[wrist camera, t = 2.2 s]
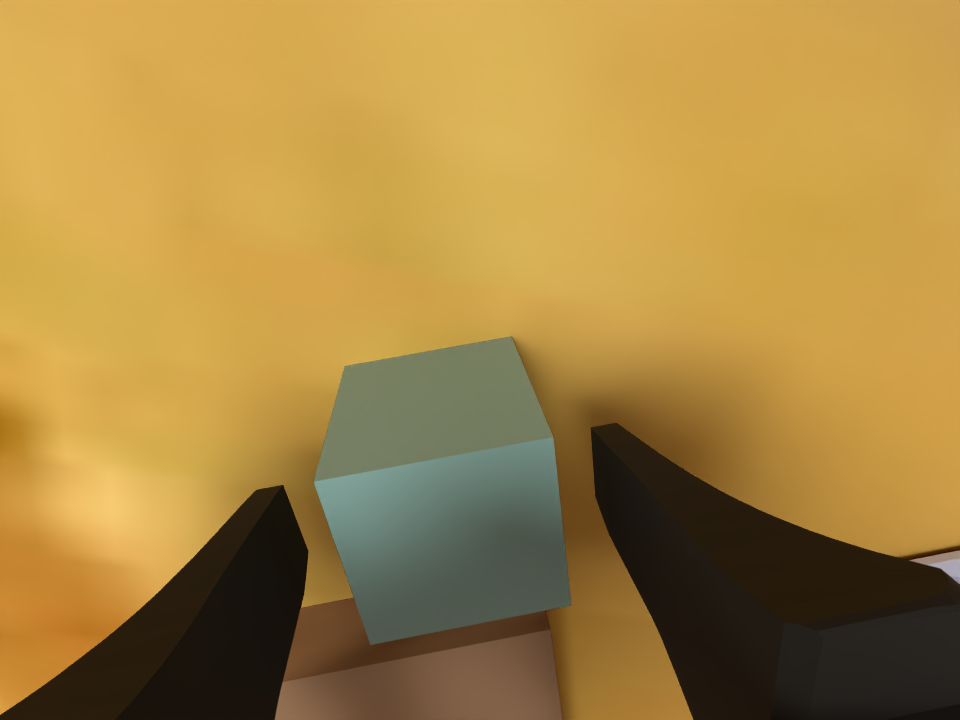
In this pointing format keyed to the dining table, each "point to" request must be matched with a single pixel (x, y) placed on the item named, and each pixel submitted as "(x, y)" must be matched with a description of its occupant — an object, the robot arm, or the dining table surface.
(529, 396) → the teal block
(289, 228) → the dining table surface
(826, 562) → the robot arm
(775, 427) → the dining table surface
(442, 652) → the walnut block
